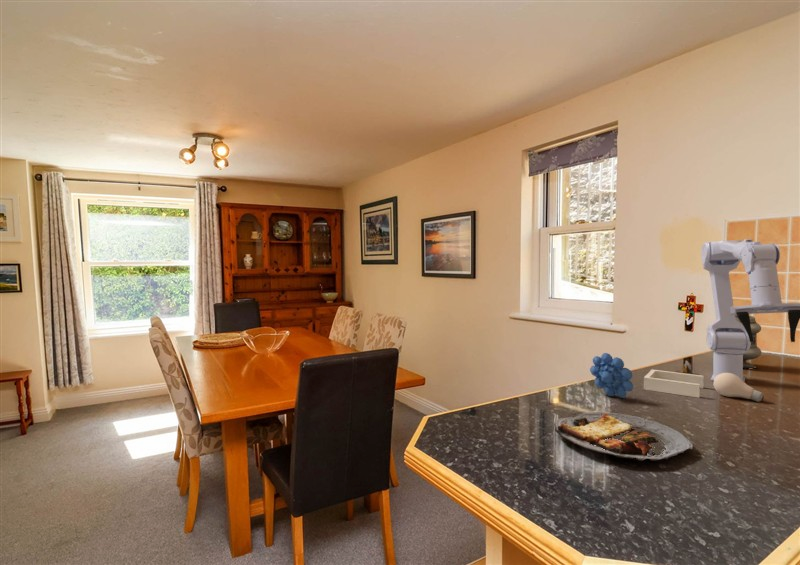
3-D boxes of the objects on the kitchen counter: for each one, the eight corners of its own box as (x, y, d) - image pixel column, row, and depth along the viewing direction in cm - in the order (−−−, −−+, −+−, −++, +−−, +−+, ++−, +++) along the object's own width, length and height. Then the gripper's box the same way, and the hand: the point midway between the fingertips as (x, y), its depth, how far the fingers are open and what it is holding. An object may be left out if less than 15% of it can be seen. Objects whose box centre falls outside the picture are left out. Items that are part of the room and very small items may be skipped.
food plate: (633, 479, 69) (634, 458, 69) (531, 433, 90) (531, 417, 90) (713, 451, 81) (713, 433, 81) (606, 416, 102) (606, 402, 102)
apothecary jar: (730, 370, 141) (730, 317, 140) (710, 362, 153) (710, 314, 152) (770, 370, 139) (770, 317, 138) (746, 362, 151) (746, 314, 150)
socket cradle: (651, 380, 130) (651, 369, 130) (703, 387, 121) (703, 375, 121) (643, 389, 121) (643, 377, 121) (699, 397, 112) (699, 385, 112)
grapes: (583, 394, 116) (582, 352, 116) (594, 390, 121) (594, 349, 120) (626, 404, 107) (626, 359, 107) (637, 399, 112) (637, 355, 111)
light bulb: (771, 383, 108) (721, 365, 116) (763, 392, 104) (713, 373, 112) (763, 404, 110) (715, 384, 118) (755, 414, 107) (706, 393, 115)
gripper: (727, 288, 108) (733, 339, 105) (804, 282, 98) (813, 339, 95) (729, 293, 113) (735, 343, 110) (803, 289, 104) (811, 343, 100)
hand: (771, 341), depth 103 cm, fingers open, 7 cm apart
